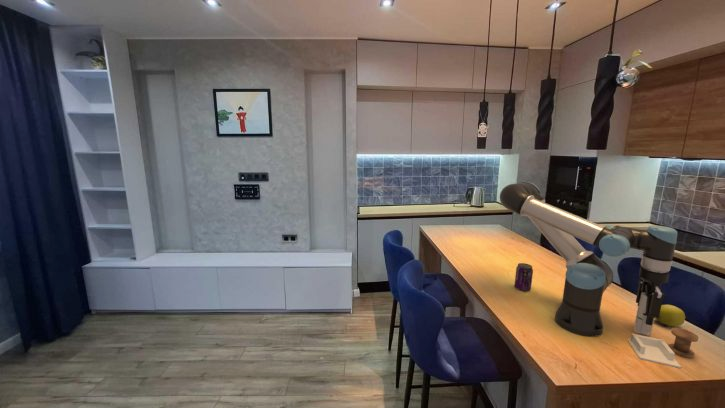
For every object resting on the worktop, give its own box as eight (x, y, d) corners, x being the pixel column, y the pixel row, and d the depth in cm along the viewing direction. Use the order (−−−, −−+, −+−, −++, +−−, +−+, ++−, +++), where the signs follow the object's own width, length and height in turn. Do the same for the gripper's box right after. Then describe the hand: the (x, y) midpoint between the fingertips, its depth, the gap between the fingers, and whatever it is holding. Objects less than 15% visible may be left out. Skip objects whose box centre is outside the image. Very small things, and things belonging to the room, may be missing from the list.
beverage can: (527, 293, 138) (530, 269, 136) (511, 288, 143) (514, 265, 141) (532, 289, 143) (535, 265, 141) (517, 284, 148) (520, 261, 146)
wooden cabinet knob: (673, 354, 97) (677, 336, 96) (664, 344, 103) (668, 326, 101) (698, 360, 95) (702, 341, 94) (687, 349, 100) (692, 330, 99)
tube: (633, 326, 113) (641, 290, 110) (649, 331, 110) (657, 294, 107) (634, 332, 109) (642, 295, 107) (650, 336, 107) (658, 298, 104)
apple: (690, 332, 110) (695, 312, 108) (662, 329, 111) (666, 310, 110) (672, 320, 117) (676, 302, 116) (646, 318, 119) (650, 299, 117)
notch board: (639, 358, 96) (641, 350, 95) (627, 340, 105) (628, 332, 104) (681, 368, 91) (683, 359, 91) (664, 348, 101) (666, 340, 100)
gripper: (682, 280, 96) (668, 344, 100) (657, 262, 111) (645, 318, 116) (652, 276, 99) (639, 338, 103) (631, 259, 114) (621, 313, 119)
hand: (642, 327), depth 109 cm, fingers closed on tube, 4 cm apart
